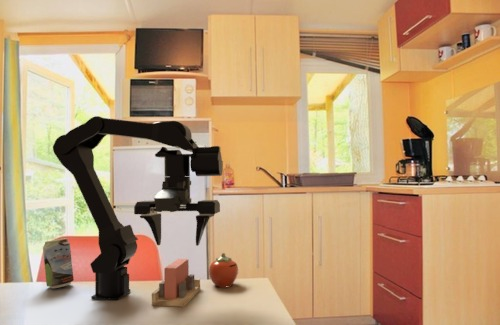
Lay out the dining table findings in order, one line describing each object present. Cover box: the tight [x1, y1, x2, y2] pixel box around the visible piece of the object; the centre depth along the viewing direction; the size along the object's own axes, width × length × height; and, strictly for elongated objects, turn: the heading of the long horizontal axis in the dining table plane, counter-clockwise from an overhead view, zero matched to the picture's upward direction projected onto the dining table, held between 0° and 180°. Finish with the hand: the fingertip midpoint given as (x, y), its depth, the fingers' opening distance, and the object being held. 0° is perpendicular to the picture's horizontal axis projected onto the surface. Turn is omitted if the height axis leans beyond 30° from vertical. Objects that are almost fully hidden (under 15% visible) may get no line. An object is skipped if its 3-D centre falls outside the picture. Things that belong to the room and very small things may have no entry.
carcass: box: [151, 273, 201, 307], centre depth 85 cm, size 7×12×4 cm, turn 172°
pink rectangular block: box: [163, 258, 190, 299], centre depth 85 cm, size 9×2×6 cm, turn 172°
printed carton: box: [42, 237, 74, 289], centre depth 93 cm, size 6×7×12 cm
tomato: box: [208, 252, 239, 288], centre depth 93 cm, size 7×7×8 cm
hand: (178, 245), depth 85 cm, fingers open, 9 cm apart
